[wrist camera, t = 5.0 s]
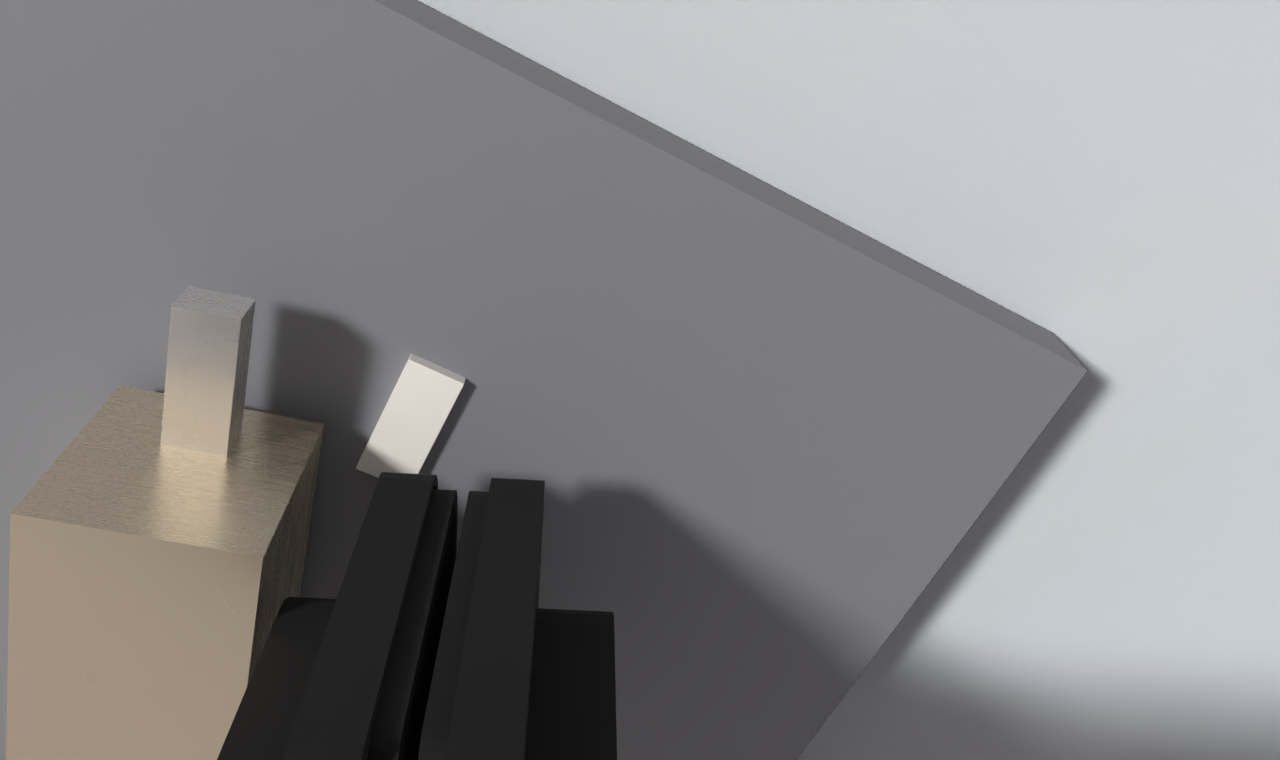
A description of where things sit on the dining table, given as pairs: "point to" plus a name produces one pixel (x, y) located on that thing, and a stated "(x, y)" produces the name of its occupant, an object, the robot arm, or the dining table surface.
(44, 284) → the board
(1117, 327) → the dining table surface
